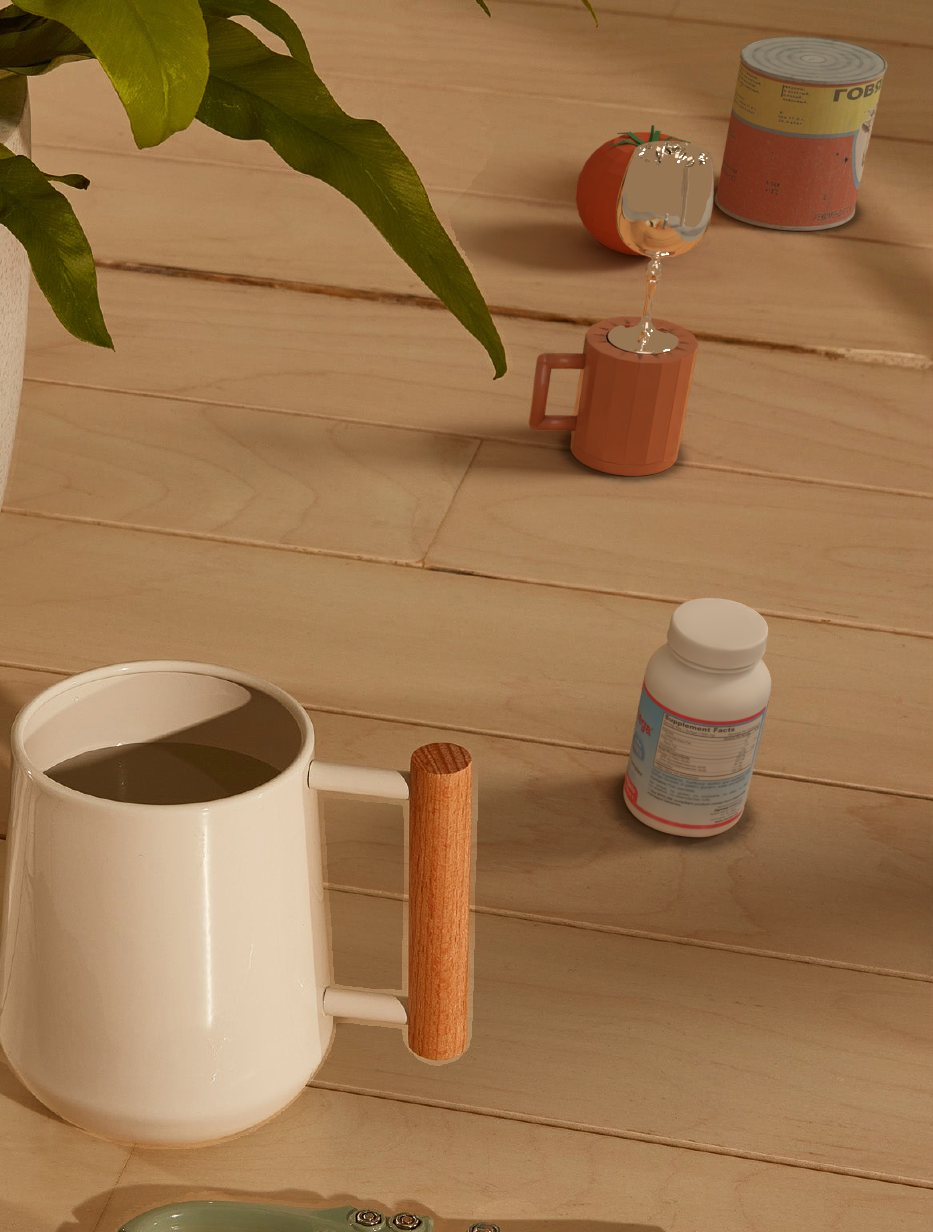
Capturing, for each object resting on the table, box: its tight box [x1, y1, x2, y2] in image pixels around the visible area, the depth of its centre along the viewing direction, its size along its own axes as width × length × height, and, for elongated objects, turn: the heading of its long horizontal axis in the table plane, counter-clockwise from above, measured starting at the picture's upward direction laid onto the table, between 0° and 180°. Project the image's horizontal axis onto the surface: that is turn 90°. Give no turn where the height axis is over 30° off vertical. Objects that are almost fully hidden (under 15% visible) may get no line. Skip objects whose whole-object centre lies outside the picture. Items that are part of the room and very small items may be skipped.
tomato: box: [575, 124, 692, 256], centre depth 159 cm, size 10×10×10 cm
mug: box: [528, 315, 699, 477], centre depth 134 cm, size 10×7×8 cm
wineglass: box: [608, 141, 715, 354], centre depth 127 cm, size 6×6×12 cm
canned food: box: [714, 36, 888, 232], centre depth 166 cm, size 11×11×12 cm
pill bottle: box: [622, 597, 772, 838], centre depth 102 cm, size 6×6×11 cm
